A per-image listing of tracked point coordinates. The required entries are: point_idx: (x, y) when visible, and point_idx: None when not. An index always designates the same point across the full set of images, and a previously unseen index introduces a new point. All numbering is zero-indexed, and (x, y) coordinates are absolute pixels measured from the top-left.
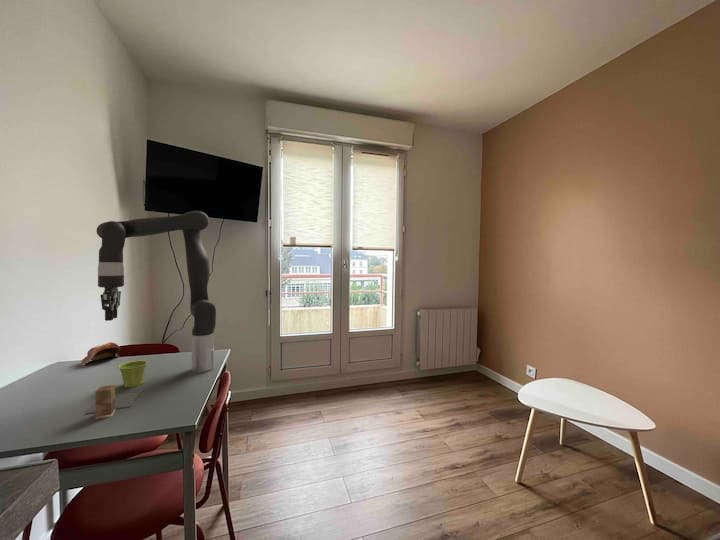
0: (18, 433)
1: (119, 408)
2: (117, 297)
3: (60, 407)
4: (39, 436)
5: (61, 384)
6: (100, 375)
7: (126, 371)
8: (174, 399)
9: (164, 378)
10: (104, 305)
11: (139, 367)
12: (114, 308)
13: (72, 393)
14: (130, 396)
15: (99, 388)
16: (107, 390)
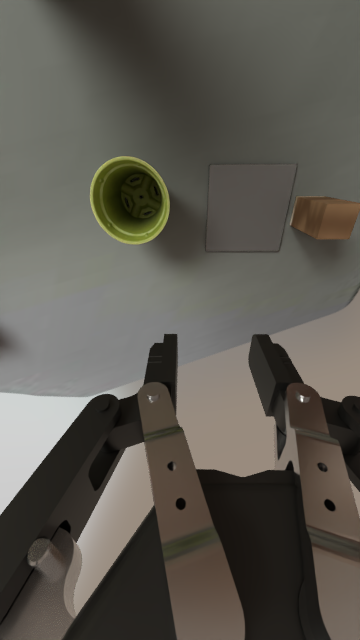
0: (292, 318)
1: (291, 189)
2: (205, 506)
3: (215, 302)
4: (325, 288)
5: (93, 339)
6: (51, 292)
7: (164, 214)
8: (323, 23)
9: (111, 105)
10: (352, 463)
11: (157, 177)
12: (171, 395)
13: (150, 307)
14: (232, 181)
15: (330, 236)
16: (357, 212)
